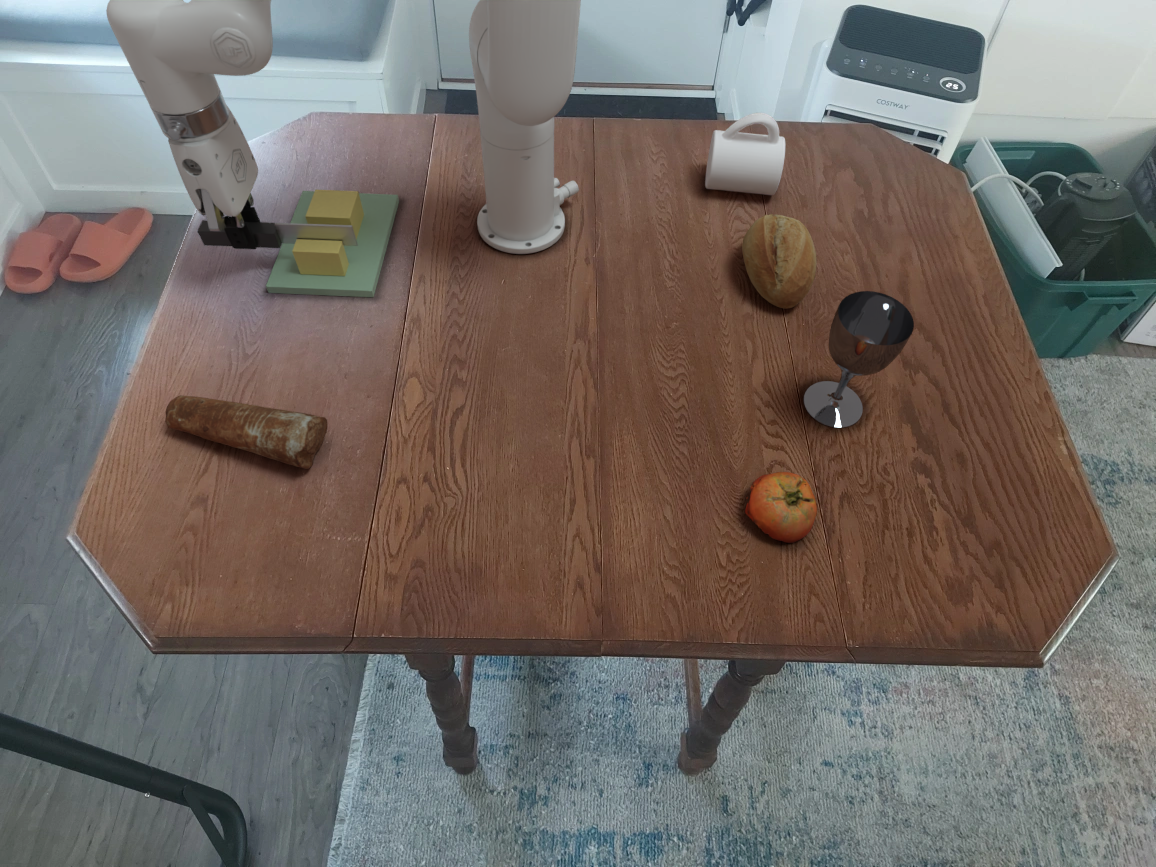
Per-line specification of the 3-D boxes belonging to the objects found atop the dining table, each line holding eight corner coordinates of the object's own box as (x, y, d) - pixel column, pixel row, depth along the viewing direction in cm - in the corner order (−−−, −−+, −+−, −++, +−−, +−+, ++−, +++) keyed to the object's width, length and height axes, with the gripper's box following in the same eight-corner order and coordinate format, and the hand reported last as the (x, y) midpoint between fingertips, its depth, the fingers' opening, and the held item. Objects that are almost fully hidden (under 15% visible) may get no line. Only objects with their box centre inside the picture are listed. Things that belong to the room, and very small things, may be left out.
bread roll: (745, 316, 100) (759, 270, 93) (729, 240, 109) (741, 194, 102) (817, 316, 100) (835, 270, 94) (795, 240, 109) (811, 194, 102)
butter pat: (304, 262, 102) (296, 238, 99) (349, 263, 102) (342, 240, 99) (300, 274, 101) (291, 251, 97) (345, 276, 101) (338, 253, 97)
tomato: (769, 555, 78) (766, 488, 77) (732, 535, 84) (729, 473, 83) (832, 539, 81) (830, 473, 79) (792, 521, 87) (789, 460, 86)
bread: (313, 480, 84) (299, 453, 79) (163, 436, 87) (141, 407, 82) (340, 436, 87) (328, 407, 83) (195, 395, 90) (176, 365, 86)
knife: (204, 245, 99) (194, 226, 97) (209, 234, 100) (199, 215, 98) (355, 251, 99) (350, 231, 96) (359, 239, 100) (353, 220, 98)
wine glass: (869, 388, 93) (917, 301, 81) (862, 438, 89) (911, 354, 77) (805, 371, 95) (842, 283, 82) (795, 419, 90) (832, 333, 78)
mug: (705, 166, 119) (719, 94, 109) (771, 173, 118) (791, 101, 108) (704, 199, 114) (718, 127, 104) (772, 206, 113) (793, 134, 103)
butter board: (304, 197, 112) (295, 167, 108) (399, 201, 112) (393, 171, 108) (268, 293, 100) (255, 263, 96) (373, 297, 100) (365, 268, 96)
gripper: (202, 155, 80) (260, 283, 95) (245, 73, 89) (292, 201, 104) (131, 153, 80) (201, 281, 95) (182, 71, 89) (238, 200, 104)
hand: (248, 239), depth 99 cm, fingers closed on knife, 2 cm apart
